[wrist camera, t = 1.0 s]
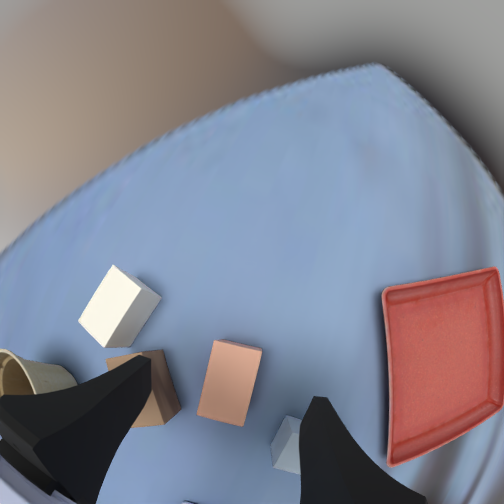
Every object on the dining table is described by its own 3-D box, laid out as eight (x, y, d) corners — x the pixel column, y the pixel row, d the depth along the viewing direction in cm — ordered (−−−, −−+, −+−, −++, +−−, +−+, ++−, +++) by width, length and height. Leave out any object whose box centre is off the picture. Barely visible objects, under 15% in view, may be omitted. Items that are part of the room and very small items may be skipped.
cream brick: (130, 347, 23) (104, 347, 18) (106, 325, 24) (78, 321, 19) (162, 297, 25) (141, 288, 20) (136, 277, 25) (113, 264, 20)
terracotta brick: (246, 409, 21) (243, 426, 17) (208, 400, 22) (196, 414, 17) (261, 348, 23) (262, 351, 18) (223, 339, 23) (214, 340, 19)
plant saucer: (489, 405, 19) (505, 407, 16) (374, 459, 19) (386, 471, 16) (481, 271, 25) (498, 264, 21) (366, 293, 24) (380, 287, 21)
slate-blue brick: (343, 430, 20) (360, 448, 15) (327, 459, 19) (340, 482, 15) (285, 414, 21) (292, 432, 16) (270, 444, 20) (273, 467, 15)
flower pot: (108, 404, 21) (57, 422, 13) (69, 442, 19) (23, 460, 11) (60, 335, 23) (5, 328, 15) (27, 379, 21) (-22, 380, 13)
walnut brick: (181, 409, 21) (164, 424, 17) (149, 414, 21) (127, 428, 16) (163, 349, 23) (141, 351, 18) (131, 356, 23) (105, 358, 18)
